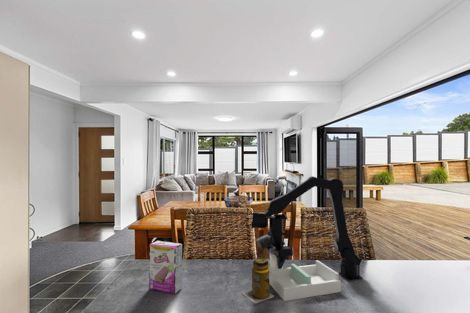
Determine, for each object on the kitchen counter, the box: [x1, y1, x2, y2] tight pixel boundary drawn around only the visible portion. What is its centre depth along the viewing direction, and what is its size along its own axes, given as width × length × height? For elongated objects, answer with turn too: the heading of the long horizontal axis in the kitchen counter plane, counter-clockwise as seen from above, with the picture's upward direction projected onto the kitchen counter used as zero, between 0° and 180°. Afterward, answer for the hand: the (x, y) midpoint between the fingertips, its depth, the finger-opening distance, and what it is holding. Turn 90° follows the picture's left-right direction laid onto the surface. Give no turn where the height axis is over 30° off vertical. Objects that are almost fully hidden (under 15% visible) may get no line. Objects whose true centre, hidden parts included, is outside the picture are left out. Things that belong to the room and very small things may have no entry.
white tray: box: [269, 260, 342, 302], centre depth 94 cm, size 22×15×6 cm
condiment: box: [242, 257, 275, 304], centre depth 88 cm, size 7×8×12 cm
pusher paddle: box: [290, 263, 311, 285], centre depth 94 cm, size 3×12×5 cm, turn 15°
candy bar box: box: [148, 240, 183, 295], centre depth 92 cm, size 11×5×16 cm, turn 71°
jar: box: [268, 247, 284, 270], centre depth 107 cm, size 6×6×9 cm
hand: (276, 266), depth 107 cm, fingers open, 6 cm apart
